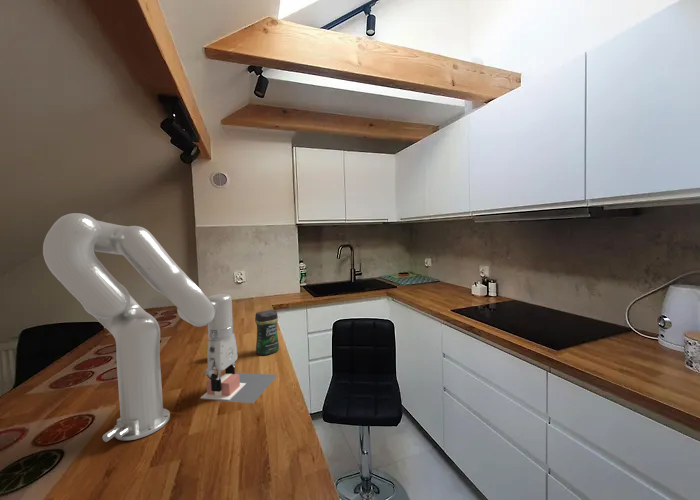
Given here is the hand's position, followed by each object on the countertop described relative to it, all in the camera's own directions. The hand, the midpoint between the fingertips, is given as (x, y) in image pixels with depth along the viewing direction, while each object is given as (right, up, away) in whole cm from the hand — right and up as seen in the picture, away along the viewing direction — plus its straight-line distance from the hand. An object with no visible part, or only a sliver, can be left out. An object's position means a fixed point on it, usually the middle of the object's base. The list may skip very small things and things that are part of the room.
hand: (223, 384), depth 96 cm
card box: (0, -2, 0) cm, 2 cm away
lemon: (-16, -2, +27) cm, 31 cm away
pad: (0, -3, 0) cm, 3 cm away
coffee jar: (+5, -1, +33) cm, 34 cm away
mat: (+5, -2, +3) cm, 6 cm away
